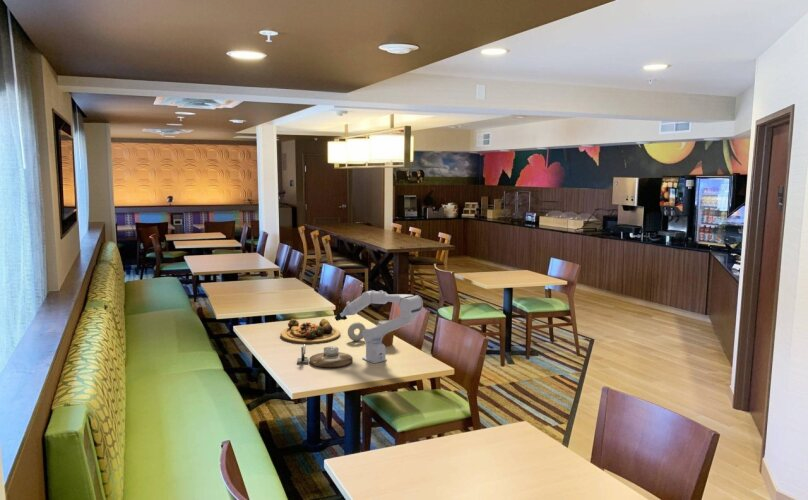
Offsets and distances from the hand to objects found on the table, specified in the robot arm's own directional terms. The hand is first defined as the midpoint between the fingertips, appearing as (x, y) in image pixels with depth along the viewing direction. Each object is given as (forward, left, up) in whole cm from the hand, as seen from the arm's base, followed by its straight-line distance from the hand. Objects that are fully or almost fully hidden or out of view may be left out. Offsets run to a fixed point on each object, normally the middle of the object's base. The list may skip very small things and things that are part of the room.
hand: (340, 316), depth 290 cm
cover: (-8, +11, -16) cm, 21 cm away
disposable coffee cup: (-7, -24, -18) cm, 30 cm away
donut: (+8, -16, -18) cm, 25 cm away
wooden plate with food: (+31, -2, -18) cm, 36 cm away
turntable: (-13, +14, -17) cm, 26 cm away
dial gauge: (-5, +25, -17) cm, 31 cm away
